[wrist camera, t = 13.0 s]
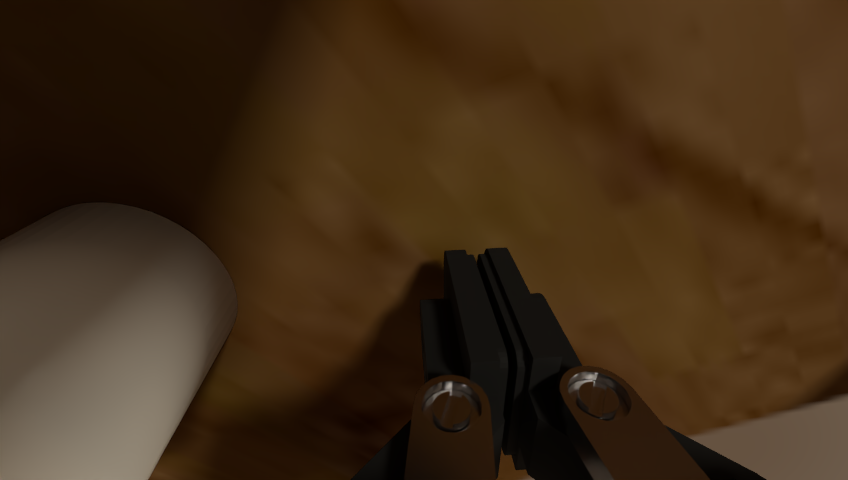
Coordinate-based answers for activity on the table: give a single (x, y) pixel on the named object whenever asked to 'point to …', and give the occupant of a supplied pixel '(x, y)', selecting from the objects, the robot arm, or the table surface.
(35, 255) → the cream smooth rounded cylinder
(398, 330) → the table surface
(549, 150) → the table surface
